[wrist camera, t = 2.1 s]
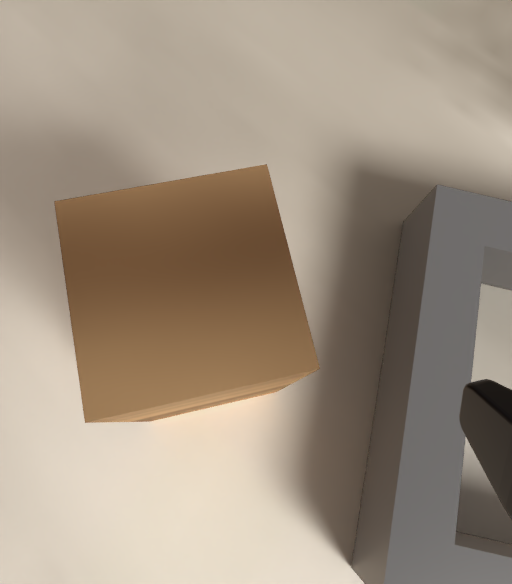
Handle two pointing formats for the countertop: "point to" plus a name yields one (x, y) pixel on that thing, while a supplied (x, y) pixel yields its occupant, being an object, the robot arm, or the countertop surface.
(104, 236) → the oak block
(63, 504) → the countertop surface
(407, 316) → the collar
